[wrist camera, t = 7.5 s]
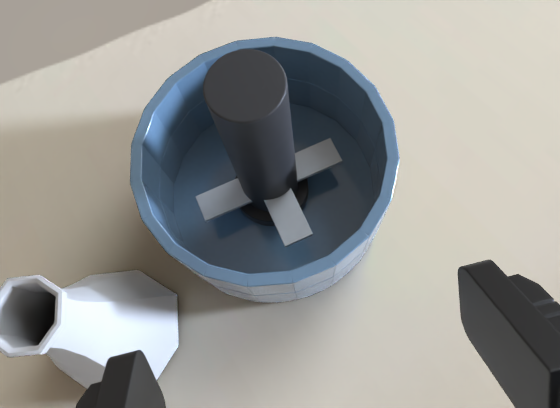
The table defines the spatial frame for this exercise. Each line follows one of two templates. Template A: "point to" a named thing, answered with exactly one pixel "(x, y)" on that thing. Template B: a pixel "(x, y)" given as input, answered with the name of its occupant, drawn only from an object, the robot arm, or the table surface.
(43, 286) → the flask
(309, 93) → the processor bowl
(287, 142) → the chopping blade
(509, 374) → the robot arm
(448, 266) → the table surface
